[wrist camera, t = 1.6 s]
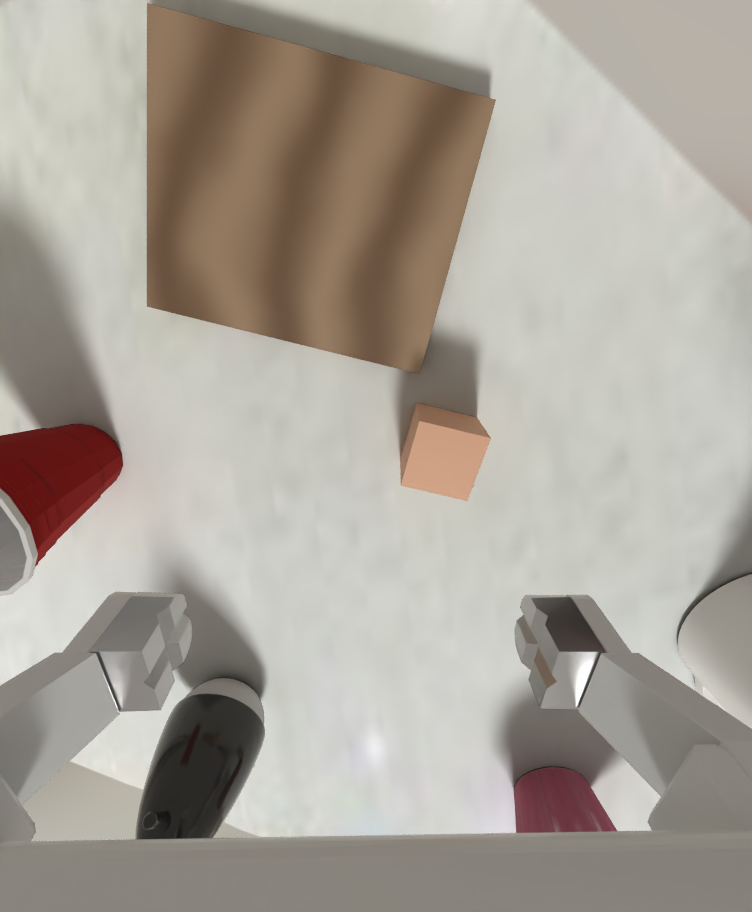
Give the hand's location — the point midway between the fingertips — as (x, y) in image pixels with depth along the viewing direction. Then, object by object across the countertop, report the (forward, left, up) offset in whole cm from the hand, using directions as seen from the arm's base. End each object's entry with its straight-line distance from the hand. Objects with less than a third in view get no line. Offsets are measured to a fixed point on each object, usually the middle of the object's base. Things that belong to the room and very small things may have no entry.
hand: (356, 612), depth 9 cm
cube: (-5, +3, -23) cm, 23 cm away
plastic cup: (+24, +12, -23) cm, 35 cm away
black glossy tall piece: (+9, +39, -23) cm, 46 cm away
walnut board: (+8, -10, -23) cm, 26 cm away
